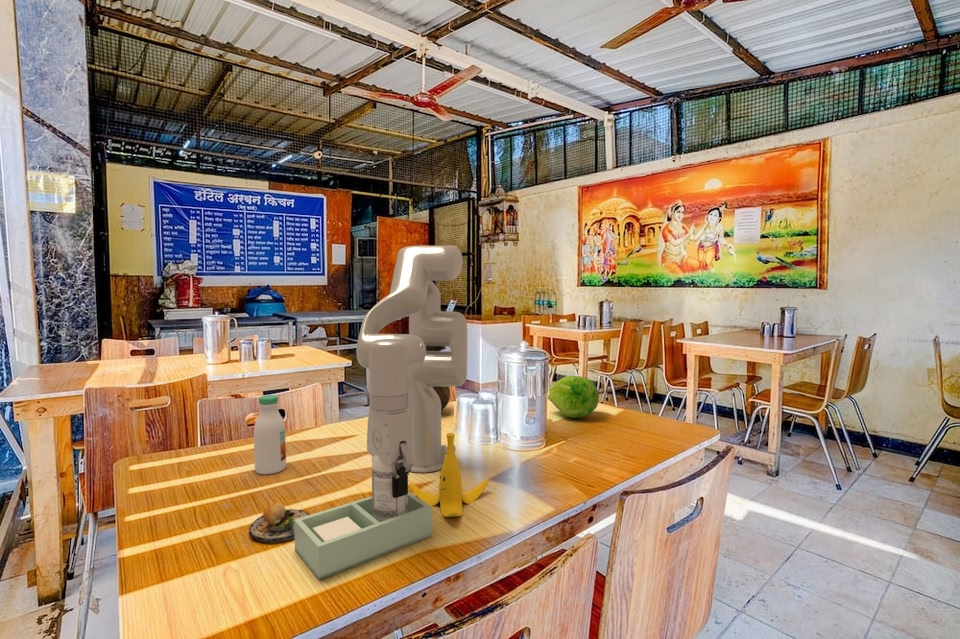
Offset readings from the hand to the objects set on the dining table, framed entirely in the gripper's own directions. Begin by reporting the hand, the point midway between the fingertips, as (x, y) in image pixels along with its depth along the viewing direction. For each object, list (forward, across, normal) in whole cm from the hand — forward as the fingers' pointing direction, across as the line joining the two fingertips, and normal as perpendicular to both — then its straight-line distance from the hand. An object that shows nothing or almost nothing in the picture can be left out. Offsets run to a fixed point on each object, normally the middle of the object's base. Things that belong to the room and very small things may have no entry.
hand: (390, 488), depth 97 cm
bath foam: (+7, 0, 0) cm, 7 cm away
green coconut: (+10, -32, +94) cm, 100 cm away
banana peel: (+10, -3, +19) cm, 22 cm away
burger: (+10, -16, -17) cm, 25 cm away
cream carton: (+9, 0, -11) cm, 14 cm away
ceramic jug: (+10, -69, +55) cm, 89 cm away
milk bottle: (+10, -50, -9) cm, 52 cm away
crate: (+9, 0, -6) cm, 11 cm away
